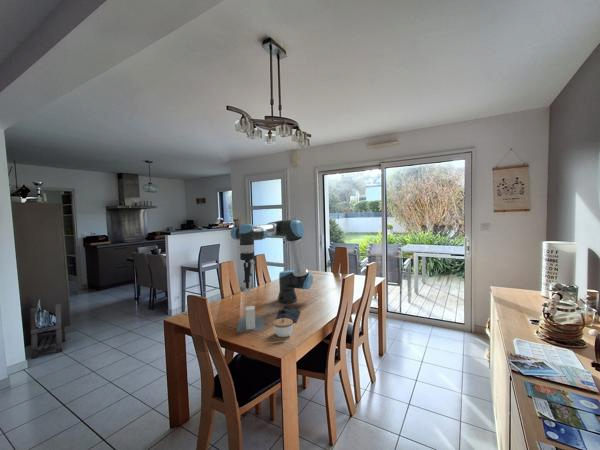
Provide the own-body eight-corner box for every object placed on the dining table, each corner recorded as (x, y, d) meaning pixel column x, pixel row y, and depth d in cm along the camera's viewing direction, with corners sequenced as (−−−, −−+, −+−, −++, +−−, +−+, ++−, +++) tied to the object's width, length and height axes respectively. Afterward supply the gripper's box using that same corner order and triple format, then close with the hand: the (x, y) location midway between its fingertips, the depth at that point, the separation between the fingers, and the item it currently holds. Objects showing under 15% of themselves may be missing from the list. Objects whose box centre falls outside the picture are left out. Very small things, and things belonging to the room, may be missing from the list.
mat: (263, 317, 176) (263, 316, 176) (264, 331, 154) (264, 330, 154) (238, 319, 174) (238, 318, 174) (236, 333, 152) (236, 332, 152)
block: (255, 325, 161) (254, 305, 161) (255, 329, 156) (254, 309, 155) (246, 326, 161) (246, 306, 160) (246, 330, 155) (245, 309, 154)
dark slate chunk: (272, 323, 166) (272, 316, 166) (279, 310, 188) (279, 304, 188) (297, 324, 164) (296, 316, 164) (301, 311, 186) (301, 304, 186)
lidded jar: (273, 332, 153) (273, 315, 153) (292, 330, 154) (292, 314, 154) (273, 340, 142) (273, 323, 142) (293, 339, 143) (293, 321, 143)
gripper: (241, 250, 159) (242, 285, 160) (238, 255, 134) (239, 297, 135) (254, 249, 160) (255, 284, 161) (253, 255, 135) (254, 296, 136)
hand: (248, 290), depth 148 cm, fingers open, 13 cm apart
